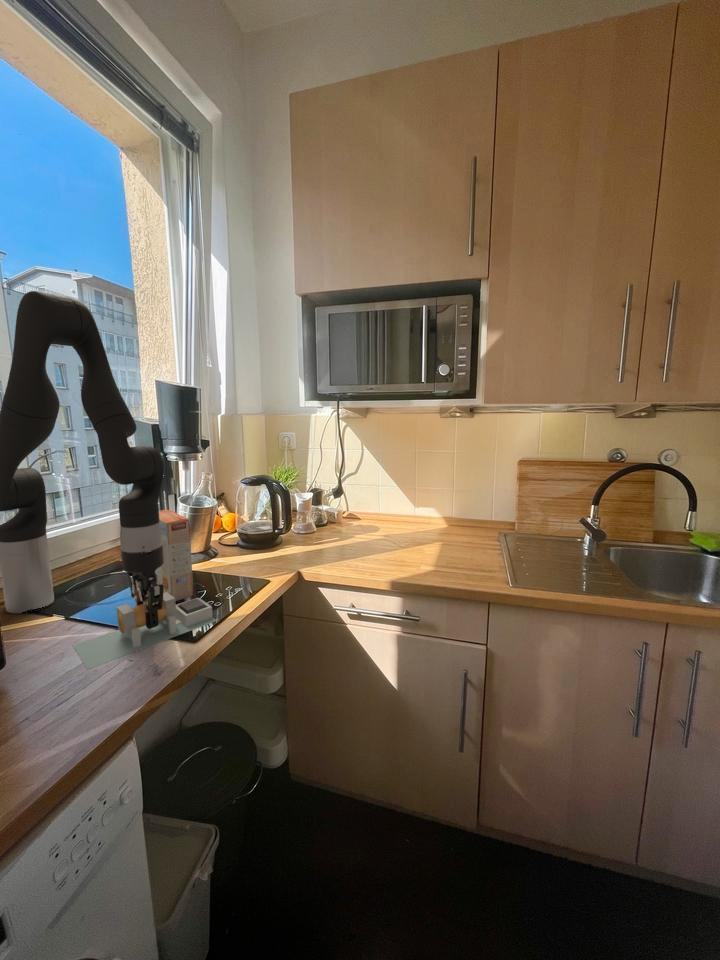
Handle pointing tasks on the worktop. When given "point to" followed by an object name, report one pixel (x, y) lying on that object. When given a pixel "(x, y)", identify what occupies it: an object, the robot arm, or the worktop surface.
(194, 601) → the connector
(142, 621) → the tan and white bar
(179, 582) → the cracker box
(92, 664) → the board
